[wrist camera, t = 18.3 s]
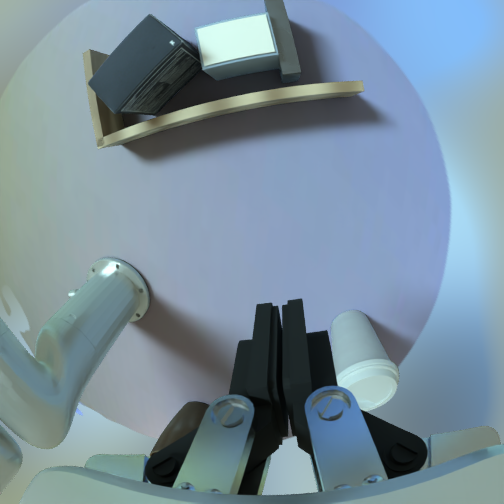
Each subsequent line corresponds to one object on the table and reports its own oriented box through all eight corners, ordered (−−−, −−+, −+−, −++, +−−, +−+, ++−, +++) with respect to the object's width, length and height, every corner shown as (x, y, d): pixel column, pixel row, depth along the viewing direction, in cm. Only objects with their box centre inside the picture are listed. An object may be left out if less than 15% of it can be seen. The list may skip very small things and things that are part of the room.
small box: (180, 35, 29) (149, 10, 20) (211, 62, 31) (186, 40, 21) (127, 89, 33) (84, 82, 23) (154, 117, 34) (115, 116, 25)
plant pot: (227, 431, 61) (217, 485, 47) (169, 417, 61) (152, 468, 47) (236, 401, 55) (226, 464, 41) (169, 384, 55) (146, 443, 41)
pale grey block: (216, 80, 32) (202, 69, 25) (209, 45, 30) (193, 27, 23) (278, 68, 31) (278, 53, 24) (270, 32, 28) (267, 11, 22)
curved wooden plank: (120, 144, 36) (98, 148, 30) (105, 59, 31) (82, 53, 25) (351, 96, 31) (364, 90, 25) (327, 3, 26) (335, -15, 20)
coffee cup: (311, 319, 45) (320, 391, 31) (364, 291, 42) (393, 359, 28) (335, 354, 48) (347, 422, 34) (383, 330, 45) (409, 396, 31)
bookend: (282, 83, 31) (282, 74, 26) (266, 17, 27) (264, -1, 22) (297, 81, 31) (301, 72, 25) (281, 15, 27) (282, -3, 22)
